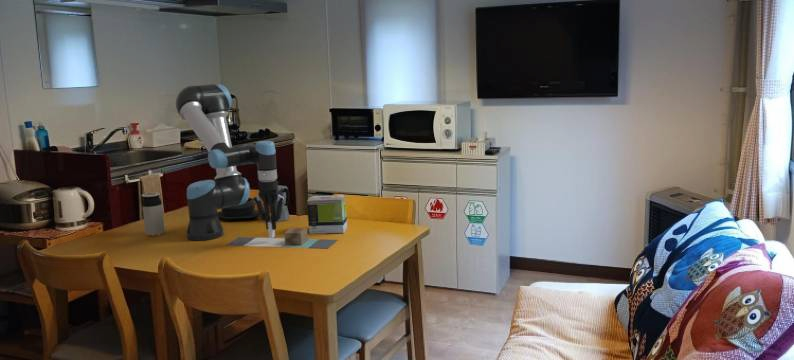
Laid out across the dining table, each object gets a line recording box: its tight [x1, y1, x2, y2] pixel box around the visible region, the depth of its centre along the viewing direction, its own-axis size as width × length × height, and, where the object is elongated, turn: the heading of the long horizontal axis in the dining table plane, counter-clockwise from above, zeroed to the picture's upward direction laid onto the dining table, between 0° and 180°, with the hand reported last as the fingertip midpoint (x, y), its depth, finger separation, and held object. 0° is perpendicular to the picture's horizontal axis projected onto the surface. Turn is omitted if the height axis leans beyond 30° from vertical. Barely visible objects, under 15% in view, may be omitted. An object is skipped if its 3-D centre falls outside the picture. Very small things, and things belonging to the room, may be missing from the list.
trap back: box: [225, 236, 256, 247], centre depth 271 cm, size 8×12×1 cm, turn 166°
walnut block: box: [284, 227, 309, 245], centre depth 265 cm, size 7×7×5 cm
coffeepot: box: [270, 181, 291, 223], centre depth 305 cm, size 15×9×18 cm, turn 43°
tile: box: [242, 237, 285, 248], centre depth 269 cm, size 16×12×1 cm
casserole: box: [217, 197, 260, 221], centre depth 314 cm, size 25×19×8 cm
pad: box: [279, 238, 320, 249], centre depth 265 cm, size 12×12×1 cm
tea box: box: [306, 194, 348, 235], centre depth 282 cm, size 15×10×15 cm
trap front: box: [308, 238, 339, 250], centre depth 263 cm, size 8×12×1 cm, turn 166°
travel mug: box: [141, 192, 166, 236], centre depth 288 cm, size 8×8×18 cm
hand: (271, 237), depth 268 cm, fingers closed
